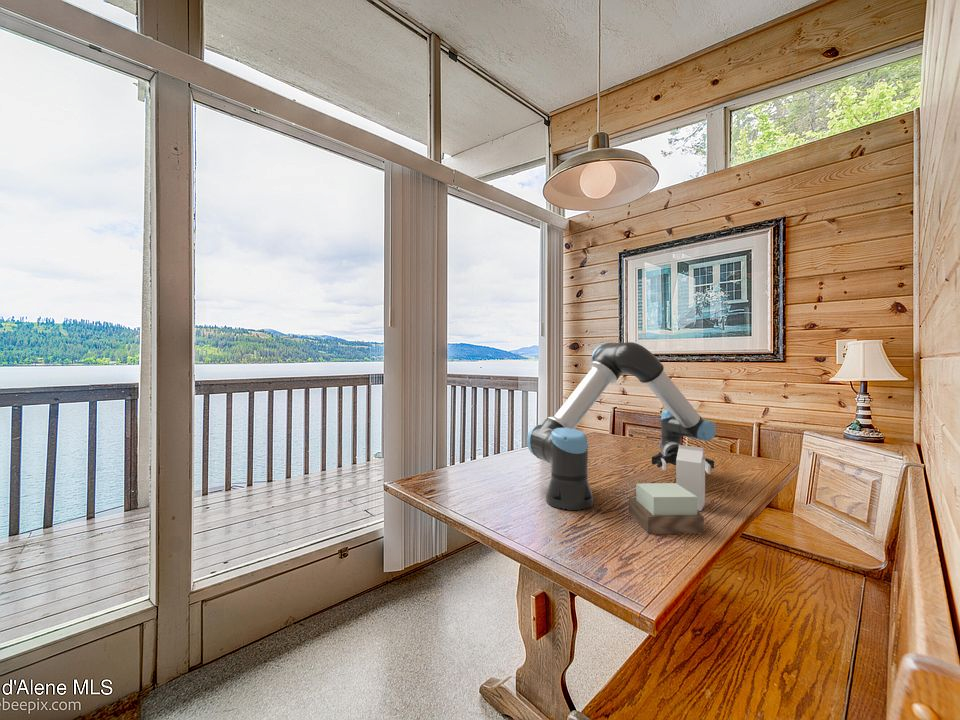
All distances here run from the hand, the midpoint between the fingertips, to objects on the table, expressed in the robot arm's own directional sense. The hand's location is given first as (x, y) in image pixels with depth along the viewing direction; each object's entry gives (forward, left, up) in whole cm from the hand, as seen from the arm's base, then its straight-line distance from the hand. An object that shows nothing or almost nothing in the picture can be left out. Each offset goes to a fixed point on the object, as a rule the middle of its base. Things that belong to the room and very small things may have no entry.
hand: (686, 468), depth 139 cm
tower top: (-16, -21, -5) cm, 27 cm away
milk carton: (-2, -8, -10) cm, 13 cm away
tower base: (-16, -21, -10) cm, 28 cm away
